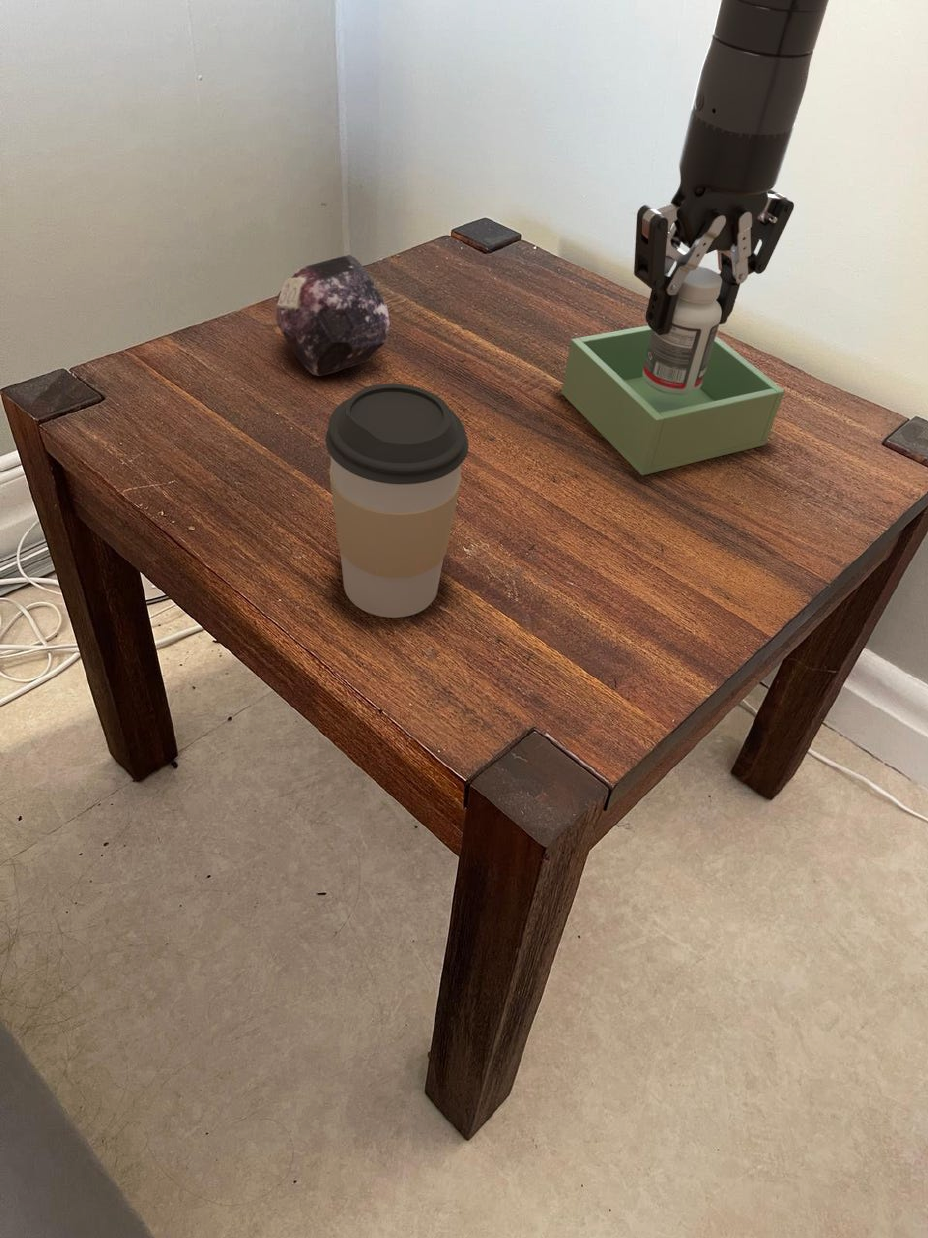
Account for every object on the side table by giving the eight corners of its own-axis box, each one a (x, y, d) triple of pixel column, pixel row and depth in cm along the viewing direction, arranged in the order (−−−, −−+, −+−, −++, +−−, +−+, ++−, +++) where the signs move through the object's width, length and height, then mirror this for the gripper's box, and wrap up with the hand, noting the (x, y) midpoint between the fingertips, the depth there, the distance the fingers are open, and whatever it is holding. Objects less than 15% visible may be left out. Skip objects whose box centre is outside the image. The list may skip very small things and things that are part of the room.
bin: (678, 369, 96) (692, 316, 92) (765, 444, 88) (785, 390, 84) (561, 393, 91) (570, 338, 87) (641, 475, 83) (656, 419, 79)
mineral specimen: (276, 307, 94) (315, 217, 88) (372, 360, 96) (417, 277, 90) (246, 354, 87) (286, 260, 80) (350, 411, 89) (397, 324, 83)
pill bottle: (675, 360, 89) (703, 256, 82) (713, 389, 86) (745, 285, 79) (628, 371, 87) (653, 266, 80) (665, 402, 84) (694, 295, 77)
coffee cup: (403, 528, 75) (412, 354, 64) (478, 595, 70) (501, 419, 60) (303, 573, 70) (296, 393, 60) (377, 647, 66) (383, 467, 55)
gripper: (695, 137, 66) (641, 360, 78) (852, 122, 71) (779, 333, 83) (634, 100, 70) (592, 316, 82) (786, 89, 76) (726, 293, 88)
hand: (686, 324), depth 83 cm, fingers closed on pill bottle, 5 cm apart
